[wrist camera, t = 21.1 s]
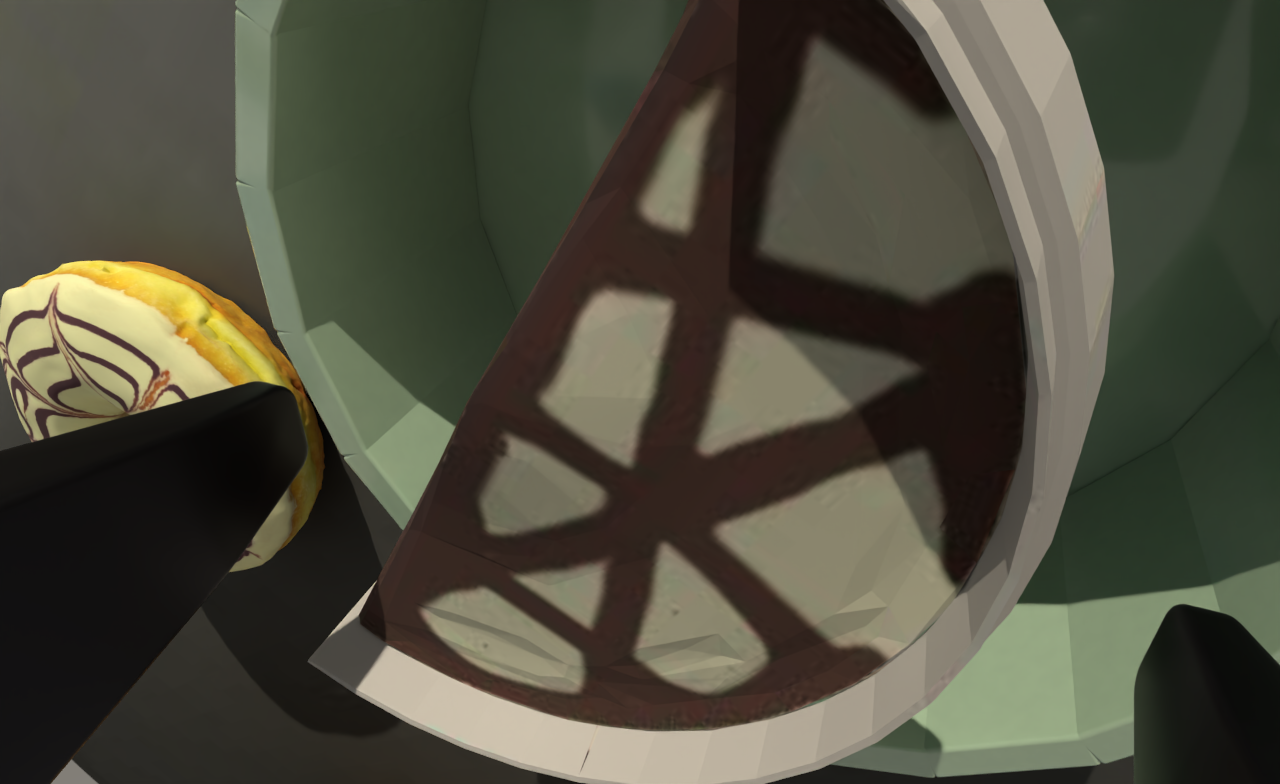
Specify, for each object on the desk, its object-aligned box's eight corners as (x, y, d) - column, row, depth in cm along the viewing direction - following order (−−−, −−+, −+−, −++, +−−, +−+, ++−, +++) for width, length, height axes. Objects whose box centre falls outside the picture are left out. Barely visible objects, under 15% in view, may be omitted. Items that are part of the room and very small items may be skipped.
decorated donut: (55, 369, 29) (-53, 425, 26) (121, 163, 23) (-13, 207, 20) (277, 563, 31) (198, 638, 28) (400, 420, 24) (313, 498, 21)
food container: (785, 504, 20) (639, 921, 12) (580, 356, 20) (298, 678, 12) (1256, 54, 12) (1699, 382, 4) (926, -188, 12) (776, -290, 4)
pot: (1697, -437, 9) (2575, -826, 4) (1162, 616, 18) (1221, 906, 13) (405, -337, 14) (63, -453, 9) (493, 450, 23) (349, 613, 18)
